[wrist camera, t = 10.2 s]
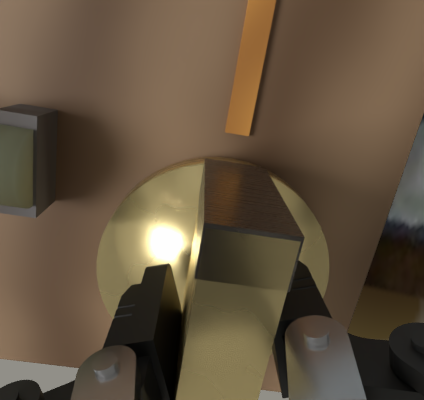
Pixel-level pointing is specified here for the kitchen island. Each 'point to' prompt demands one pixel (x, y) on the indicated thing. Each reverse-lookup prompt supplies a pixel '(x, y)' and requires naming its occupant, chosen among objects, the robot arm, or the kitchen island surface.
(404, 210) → the kitchen island surface
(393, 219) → the kitchen island surface
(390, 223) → the kitchen island surface
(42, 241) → the knob and handle board
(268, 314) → the wing knob
